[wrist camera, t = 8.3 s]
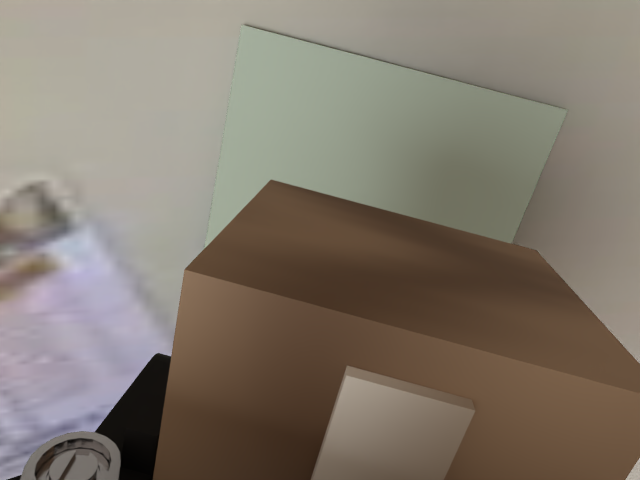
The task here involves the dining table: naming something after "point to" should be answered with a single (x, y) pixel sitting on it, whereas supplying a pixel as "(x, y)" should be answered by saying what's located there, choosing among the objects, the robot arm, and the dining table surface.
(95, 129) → the dining table surface
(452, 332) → the cardboard box
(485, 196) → the mat
